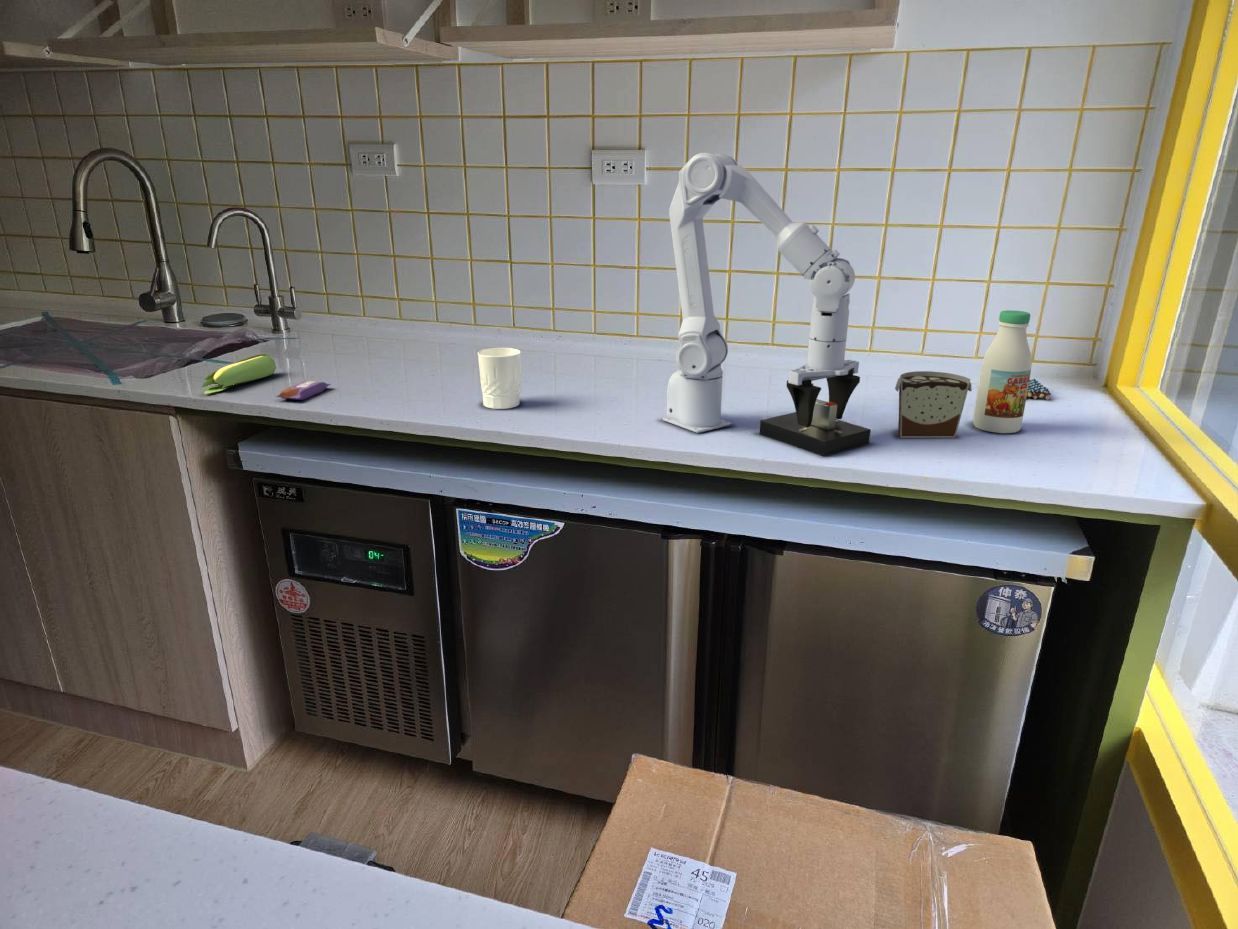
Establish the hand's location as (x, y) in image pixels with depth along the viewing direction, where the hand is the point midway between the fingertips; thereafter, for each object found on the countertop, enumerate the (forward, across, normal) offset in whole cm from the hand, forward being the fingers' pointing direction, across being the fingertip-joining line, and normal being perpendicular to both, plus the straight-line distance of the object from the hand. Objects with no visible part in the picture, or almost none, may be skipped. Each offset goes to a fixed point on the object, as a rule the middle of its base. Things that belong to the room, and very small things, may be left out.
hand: (819, 421), depth 133 cm
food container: (+3, +18, -7) cm, 20 cm away
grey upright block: (+1, 0, 0) cm, 1 cm away
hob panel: (+3, 0, +1) cm, 3 cm away
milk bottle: (+3, +31, -13) cm, 34 cm away
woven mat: (+3, +57, -2) cm, 57 cm away
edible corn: (+3, -68, +93) cm, 115 cm away
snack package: (+3, -60, +77) cm, 98 cm away
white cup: (+3, -32, +49) cm, 59 cm away
